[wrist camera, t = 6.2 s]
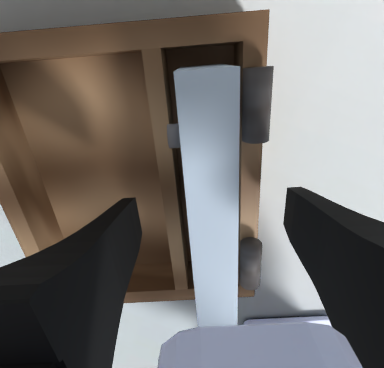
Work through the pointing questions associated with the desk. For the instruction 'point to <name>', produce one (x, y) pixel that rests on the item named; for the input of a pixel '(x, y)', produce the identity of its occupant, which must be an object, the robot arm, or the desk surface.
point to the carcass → (125, 136)
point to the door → (210, 183)
